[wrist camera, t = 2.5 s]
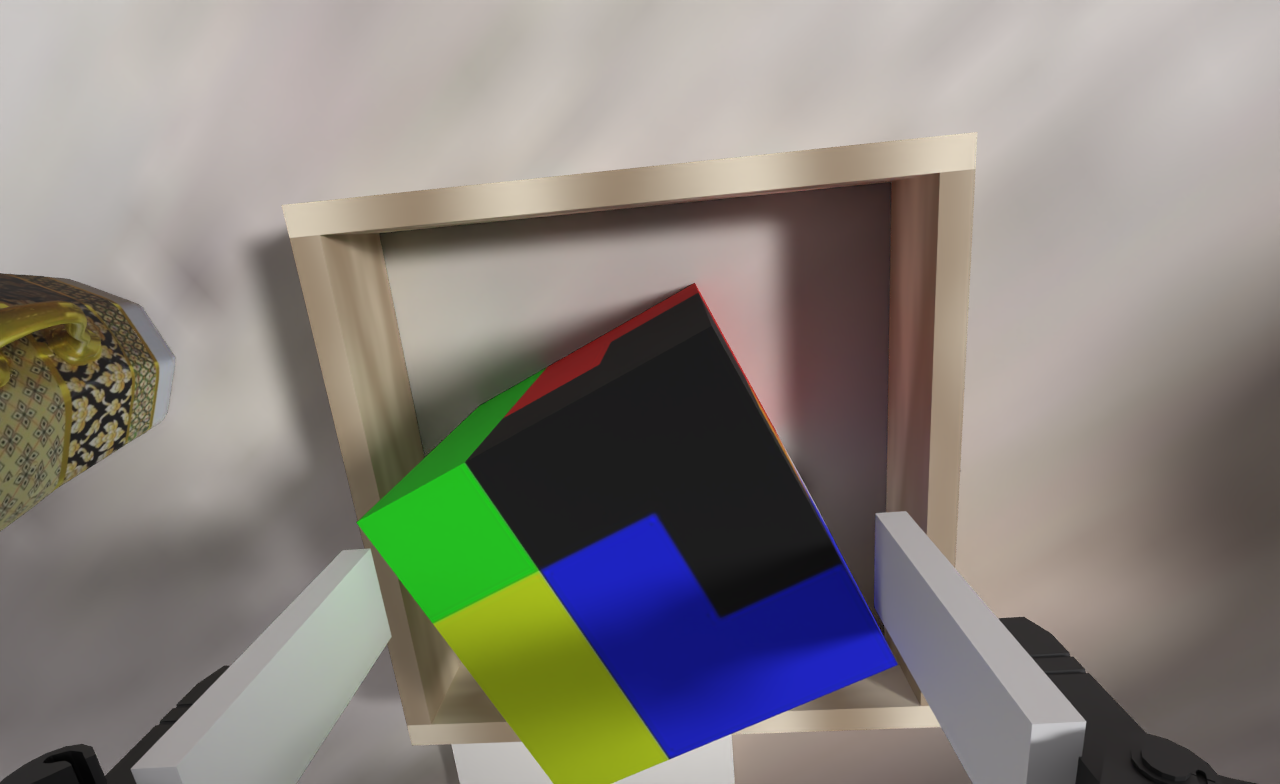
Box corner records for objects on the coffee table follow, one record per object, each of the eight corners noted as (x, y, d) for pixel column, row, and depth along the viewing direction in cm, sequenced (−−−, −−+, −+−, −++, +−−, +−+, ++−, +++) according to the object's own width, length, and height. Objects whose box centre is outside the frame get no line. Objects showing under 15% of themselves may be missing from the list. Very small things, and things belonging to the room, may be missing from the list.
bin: (921, 149, 21) (977, 132, 17) (907, 654, 27) (946, 726, 23) (347, 208, 23) (281, 205, 19) (447, 674, 28) (411, 745, 24)
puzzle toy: (810, 494, 25) (898, 664, 15) (604, 593, 27) (567, 801, 17) (694, 282, 23) (711, 325, 13) (479, 405, 25) (356, 522, 15)
